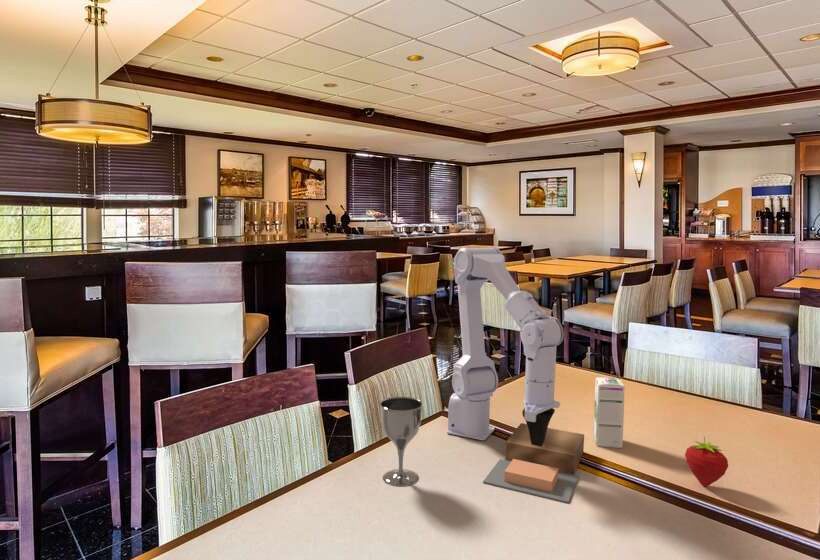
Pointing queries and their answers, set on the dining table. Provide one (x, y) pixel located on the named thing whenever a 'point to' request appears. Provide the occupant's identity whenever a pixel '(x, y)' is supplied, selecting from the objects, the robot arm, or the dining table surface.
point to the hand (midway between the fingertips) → (537, 444)
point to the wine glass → (401, 434)
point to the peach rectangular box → (531, 475)
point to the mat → (559, 492)
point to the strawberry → (706, 462)
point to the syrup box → (609, 412)
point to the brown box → (547, 449)
